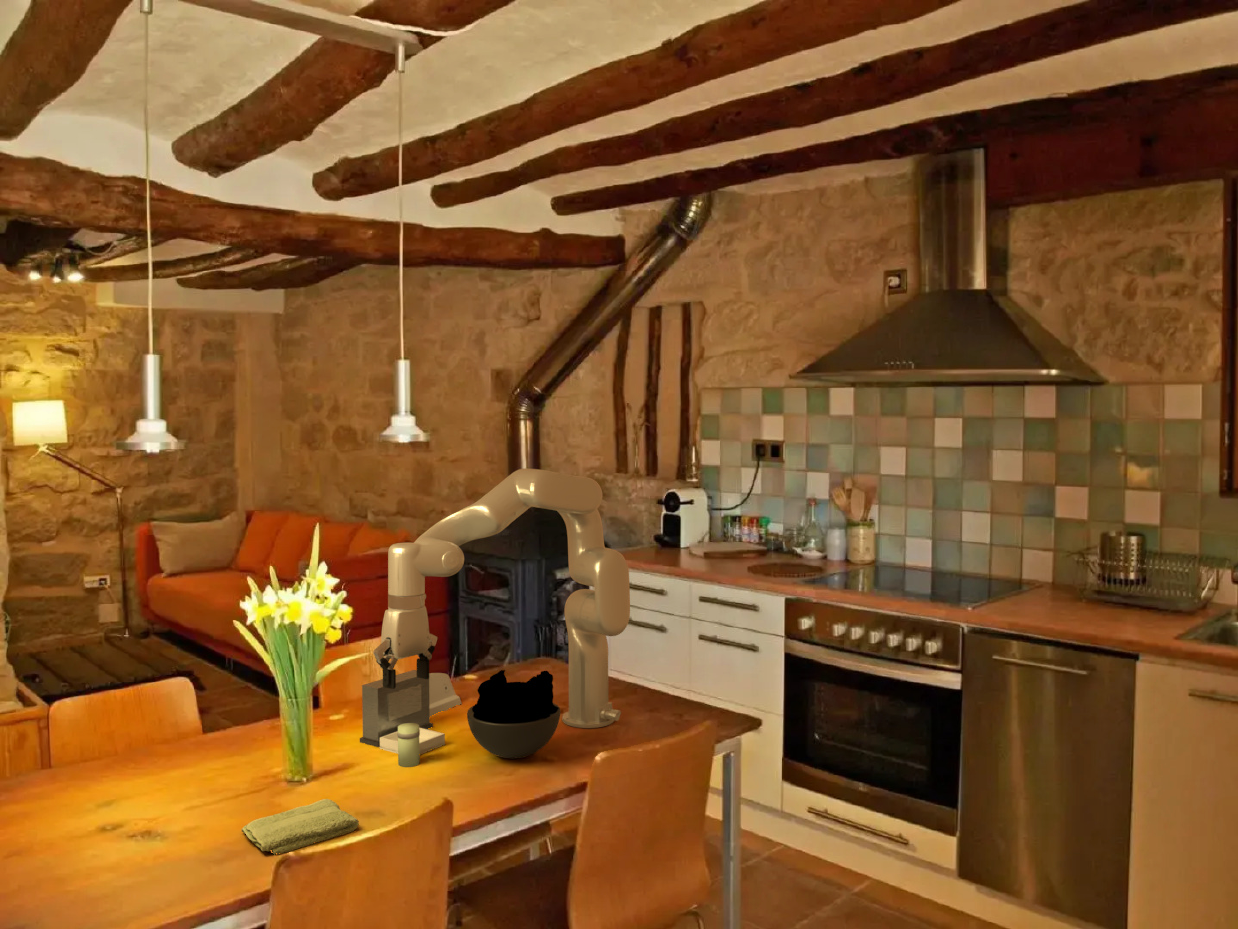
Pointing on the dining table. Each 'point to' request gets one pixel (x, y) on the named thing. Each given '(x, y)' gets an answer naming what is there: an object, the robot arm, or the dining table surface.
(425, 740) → the parts tray
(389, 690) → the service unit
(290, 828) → the washcloth
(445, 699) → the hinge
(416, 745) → the olive green jar
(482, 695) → the coal bowl
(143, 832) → the dining table surface
